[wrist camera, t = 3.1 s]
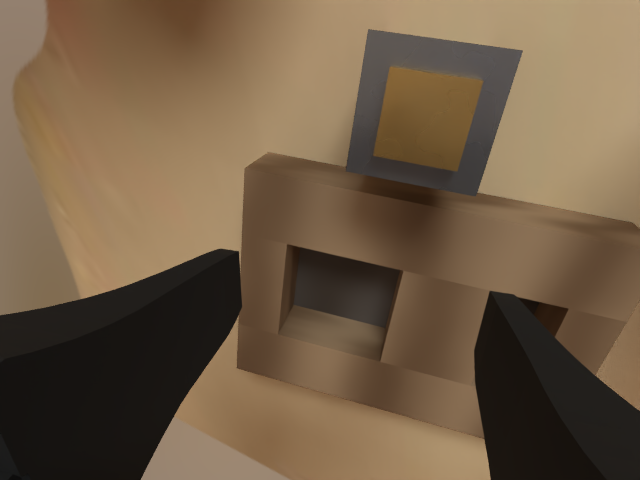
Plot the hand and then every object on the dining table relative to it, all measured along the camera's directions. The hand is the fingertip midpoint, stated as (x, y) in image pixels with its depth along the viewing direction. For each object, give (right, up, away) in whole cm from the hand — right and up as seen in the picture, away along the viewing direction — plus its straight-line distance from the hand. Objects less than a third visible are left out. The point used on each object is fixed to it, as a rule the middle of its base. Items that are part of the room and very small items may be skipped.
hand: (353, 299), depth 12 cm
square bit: (+4, +8, +6) cm, 11 cm away
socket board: (+4, -1, +10) cm, 11 cm away
